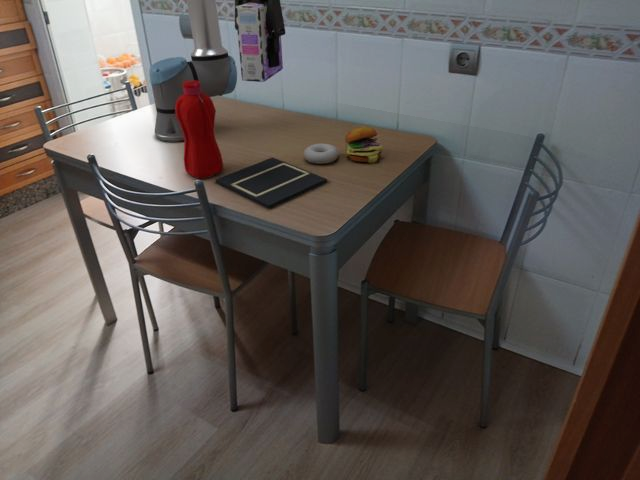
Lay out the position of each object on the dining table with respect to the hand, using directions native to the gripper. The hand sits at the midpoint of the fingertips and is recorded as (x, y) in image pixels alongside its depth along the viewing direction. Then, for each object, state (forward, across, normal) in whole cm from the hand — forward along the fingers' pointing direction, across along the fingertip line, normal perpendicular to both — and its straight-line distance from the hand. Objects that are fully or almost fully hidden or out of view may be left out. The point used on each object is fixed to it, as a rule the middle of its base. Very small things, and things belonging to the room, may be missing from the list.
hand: (262, 63), depth 126 cm
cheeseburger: (+30, +10, +26) cm, 41 cm away
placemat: (+30, +3, -3) cm, 30 cm away
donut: (+30, +2, +17) cm, 34 cm away
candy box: (+3, 0, 0) cm, 3 cm away
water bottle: (+30, -15, -11) cm, 35 cm away
